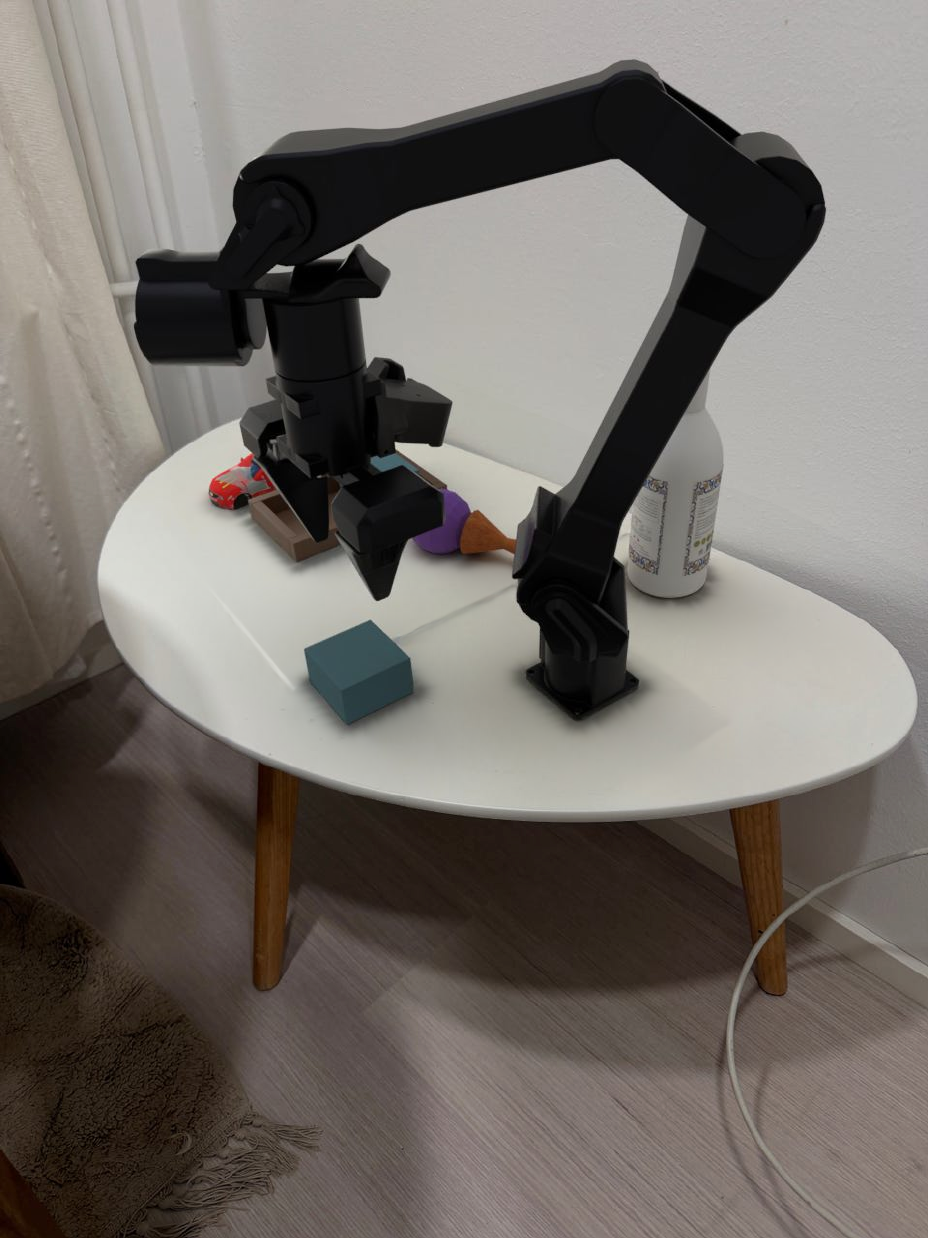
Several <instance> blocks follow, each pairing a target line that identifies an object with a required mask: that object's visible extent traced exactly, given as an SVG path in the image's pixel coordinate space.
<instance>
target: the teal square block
mask: <svg viewBox="0 0 928 1238" xmlns="http://www.w3.org/2000/svg"><path fill="white" fill-rule="evenodd" d="M371 464H373V465H374V466H375V467H377V468H378V469H379V470H380V471H382V472H384V471H387V470H389V469H392V468H395V467H398V466H401V465H404V466H405V467H407V468H409V469H410V470H412V471H413V472H415V473H416V474H418V475H419V470H418V469H417V468H415V467H414V466H413V465H411V464H410V463H408V462H407V461H406V460H404V459H403V458H401V457H400V456H399V455H397V454H396V453H395V454H392V455H389V456H386V457H383V458H379V457H378V456H375V457H372V458H371ZM339 484H340V483H339ZM341 487H342V485H341V484H340V488H341Z"/></svg>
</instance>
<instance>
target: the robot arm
mask: <svg viewBox="0 0 928 1238" xmlns="http://www.w3.org/2000/svg"><path fill="white" fill-rule="evenodd" d="M610 160H618V161H621V162H622V163H624V164H625V165H626V166H628V167H629V168H631V169H632V170H633V171H635V172H636V173H638V175H640V176H641V177H642V178H644V179H645V180H646V181H647V182H648V183H650V185H652V186H653V187H654V188H655V189H656V190H658V192H659V193H661V194H663V196H665V197H666V198H667V199H668V200H670V202H672V203H673V204H674V205H676V206H677V207H678V208H679V209H680V210H681V211H682V212H684V213H685V214H687V217H686V220H685V222H684V223H685V224H684V225H683V231H682V234H681V239H680V243H679V248H678V252H677V257H676V260H675V265H674V269H673V273H672V278H671V281H670V285H669V287H668V291H667V293H666V296H665V298H664V299H663V301H662V303H661V306H660V308H659V309H658V311H657V313H656V315H655V317H654V319H653V321H652V323H651V324H650V327H649V328H648V331H647V333H646V335H645V337H644V338H643V341H642V342H641V345H640V346H639V349H638V350H637V352H636V355H635V356H634V358H633V360H632V362H631V364H630V366H629V368H628V370H627V372H626V374H625V376H624V378H623V380H622V382H621V384H620V386H619V388H618V390H617V391H616V393H615V396H614V397H613V399H612V402H611V403H610V405H609V407H608V409H607V411H606V413H605V415H604V418H603V419H602V421H601V423H600V425H599V427H598V429H597V431H596V433H595V434H594V437H593V438H592V441H591V443H590V445H589V447H588V448H587V450H586V453H585V454H584V456H583V458H582V460H581V462H580V464H579V466H578V468H577V470H576V472H575V474H574V476H573V477H572V479H571V480H570V481H569V482H568V483H567V484H566V485H564V486H563V487H562V488H561V489H560V490H558V491H557V492H556V493H554V492H552V491H550V490H548V489H547V488H545V487H543V486H541V485H538V486H537V488H536V491H535V495H534V499H533V501H532V506H531V509H530V511H529V512H528V514H527V515H526V517H525V518H523V519H522V520H521V521H520V522H519V523H518V524H517V529H516V538H515V539H516V545H515V554H513V564H512V573H511V574H512V575H511V578H512V579H513V580H517V584H516V592H515V599H516V603H517V604H518V606H519V608H520V609H521V611H522V613H523V614H524V615H525V616H526V617H527V618H528V619H530V621H533V622H535V623H537V625H538V627H539V641H538V642H539V645H538V647H539V649H538V650H539V651H538V658H539V660H540V662H539V663H536V664H534V665H533V666H531V667H529V668H527V669H526V670H525V673H524V674H525V676H524V677H525V678H526V680H528V681H529V682H530V683H532V685H534V686H535V688H537V689H538V690H539V691H541V692H542V693H543V694H544V695H545V696H546V697H548V698H549V700H551V701H552V702H553V703H554V704H555V705H556V706H558V707H559V708H560V709H561V710H562V711H564V712H565V713H566V714H567V715H568V716H569V717H571V719H573V720H576V721H580V720H583V719H585V718H587V717H589V716H591V715H592V714H594V713H595V712H597V711H600V710H601V709H603V708H605V707H606V706H608V705H610V704H612V703H614V702H615V701H616V700H617V701H618V700H619V699H620V698H623V697H624V696H625V695H628V694H629V693H631V692H633V691H635V690H636V689H638V688H639V686H640V680H639V678H638V677H636V676H635V675H634V674H632V673H631V672H630V671H628V670H627V662H628V653H629V652H628V651H629V642H630V641H629V640H630V630H629V623H628V607H627V606H628V605H627V604H628V602H627V601H628V600H627V583H626V568H625V565H624V564H623V563H622V562H621V561H619V560H618V559H617V558H616V557H615V553H616V549H617V546H618V545H617V544H618V540H619V536H620V532H621V528H622V525H623V522H624V521H625V518H626V517H627V515H628V513H629V511H630V510H631V509H632V506H633V503H634V501H635V499H636V497H637V496H638V494H639V492H640V490H641V489H642V487H643V485H644V483H645V482H646V480H647V478H648V476H649V475H650V473H651V471H652V469H653V468H654V466H655V464H656V462H657V461H658V459H659V457H660V455H661V454H662V452H663V450H664V448H665V447H666V445H667V443H668V441H669V439H670V438H671V436H672V434H673V432H674V431H675V429H676V427H677V425H678V424H679V422H680V420H681V418H682V417H683V415H684V413H685V411H686V410H687V408H688V406H689V404H690V403H691V401H692V399H693V397H694V396H695V394H696V392H697V390H698V389H699V387H700V385H701V383H702V382H703V380H704V378H705V376H706V375H707V373H708V371H709V369H710V370H711V368H712V366H713V364H714V362H715V361H716V359H717V357H718V356H719V354H720V353H721V350H722V348H723V347H724V345H725V343H726V341H727V340H728V338H729V336H730V335H731V334H732V333H733V331H734V330H735V329H736V328H737V327H738V326H739V325H740V324H742V323H743V322H744V321H745V320H746V319H748V318H749V317H751V315H752V314H754V312H756V311H757V310H758V309H759V308H761V307H762V306H763V305H765V303H767V302H768V301H769V300H770V299H772V297H774V295H775V294H776V293H777V291H778V290H779V289H780V288H781V287H782V286H783V284H784V283H785V281H787V279H788V278H789V277H790V275H791V274H792V273H793V272H794V271H795V269H796V268H797V267H798V266H799V265H800V264H801V262H802V261H803V259H804V258H805V257H806V256H807V255H808V253H809V252H810V251H811V250H812V249H813V247H814V245H815V244H816V242H817V241H818V239H819V236H820V234H821V231H822V230H823V227H824V225H825V221H826V214H827V207H826V200H825V195H824V191H823V187H822V184H821V182H820V181H819V179H818V178H817V176H816V174H815V173H814V171H813V170H812V169H811V167H810V166H809V165H808V164H807V162H806V161H805V160H804V158H803V157H802V156H801V155H800V154H799V152H798V151H797V150H796V148H795V147H794V146H793V144H792V143H790V142H789V141H787V140H786V139H784V138H783V137H782V136H780V135H779V134H775V133H770V132H766V131H755V132H746V133H740V132H739V131H738V130H737V129H735V128H734V127H733V126H732V125H730V124H729V123H727V122H726V121H725V120H723V119H722V118H720V117H719V116H718V115H716V114H715V113H713V112H712V111H710V110H709V109H707V108H706V107H704V106H702V105H701V104H700V103H698V102H696V101H695V100H693V99H692V98H691V97H689V96H688V95H686V94H684V93H682V92H681V91H679V90H678V89H676V88H675V87H673V86H672V85H671V84H669V83H668V82H666V81H665V80H663V79H662V78H661V76H660V75H659V72H658V71H656V69H654V68H653V67H652V66H651V65H650V64H649V63H648V62H645V61H641V60H638V59H634V58H632V59H621V60H618V61H616V62H613V63H612V64H609V66H607V67H606V68H604V69H601V70H600V71H598V72H595V73H592V74H588V75H584V76H581V77H576V78H573V79H569V80H566V81H563V82H558V83H555V84H552V85H548V86H545V87H540V88H537V89H534V90H530V91H527V92H523V93H520V94H517V95H513V96H509V97H505V98H502V99H498V100H495V101H491V102H488V103H484V104H480V105H477V106H474V107H469V108H466V109H463V110H459V111H456V112H452V113H448V114H445V115H441V116H437V117H434V118H431V119H426V120H424V121H423V120H422V121H420V122H416V123H413V124H409V125H405V126H401V127H392V128H391V127H389V128H364V127H339V128H337V127H336V128H326V129H325V128H324V129H313V130H310V129H309V130H299V131H292V132H289V133H287V134H286V135H284V136H281V137H279V138H277V139H275V141H274V142H272V143H271V144H270V145H269V146H267V147H266V148H264V149H263V150H262V151H261V152H260V153H259V154H258V155H256V156H255V157H254V158H252V159H251V160H250V161H248V162H247V164H245V165H244V167H243V168H241V169H240V171H239V173H238V175H237V179H236V181H235V183H234V186H233V190H232V210H233V214H234V219H235V224H234V226H233V228H232V230H231V232H230V234H229V236H228V237H227V240H226V241H225V244H224V246H223V247H222V248H221V249H220V250H219V251H178V250H173V249H170V248H148V249H147V250H146V251H145V252H143V253H142V254H141V255H139V257H137V258H136V259H135V260H134V261H135V262H134V263H135V267H136V271H137V274H138V282H137V286H136V290H135V299H134V314H135V321H134V323H133V330H134V335H135V338H136V342H137V344H138V347H139V350H140V351H141V353H142V355H143V357H144V359H146V361H147V362H148V363H149V364H151V365H152V366H155V367H245V366H247V365H248V364H249V363H250V361H251V359H252V356H253V353H254V350H262V348H263V347H264V345H265V342H266V339H267V334H268V339H269V340H268V341H269V345H270V350H271V351H270V352H271V356H272V362H273V368H274V374H275V375H272V376H269V377H266V378H265V383H266V389H267V394H268V395H270V396H271V397H272V398H273V399H272V400H269V401H264V402H262V403H258V404H254V405H252V406H248V407H247V409H246V410H245V412H244V413H243V415H242V417H241V418H240V420H239V422H238V425H239V429H240V434H241V439H242V443H243V446H244V447H245V448H246V449H247V450H248V451H249V452H251V454H252V453H253V454H254V455H253V458H254V460H255V461H256V463H257V464H258V465H259V466H260V467H261V469H262V470H263V471H264V473H265V474H266V475H267V477H268V478H269V479H270V481H271V482H272V484H273V485H274V486H275V488H276V489H277V490H278V492H279V493H280V494H281V496H282V497H283V499H284V500H285V501H286V503H287V504H288V505H289V507H290V508H291V509H292V511H293V512H294V514H295V515H296V516H297V518H298V519H299V521H300V522H301V523H302V525H303V526H304V528H305V529H306V530H307V532H308V533H309V535H310V536H311V537H312V539H313V540H314V541H315V542H316V543H320V542H322V541H325V540H327V539H328V537H329V498H328V476H332V477H333V478H334V479H335V480H336V481H337V482H339V483H340V484H341V485H342V487H341V488H340V490H339V492H338V493H337V495H336V496H335V498H334V499H333V501H332V503H331V509H332V516H333V520H334V522H335V524H336V526H337V528H338V531H336V532H335V535H336V537H337V539H338V540H339V542H340V544H341V545H340V546H341V547H342V549H343V551H344V553H346V555H347V557H348V559H349V561H350V563H351V564H352V565H353V567H354V569H355V570H356V572H357V574H358V576H359V578H360V579H361V581H362V583H363V584H364V586H365V588H366V589H367V591H368V592H369V594H370V596H371V597H372V598H373V600H374V601H375V602H380V601H382V600H385V599H387V598H388V597H390V595H391V593H392V589H393V585H394V582H395V579H396V576H397V572H398V569H399V566H400V563H401V559H402V555H403V553H404V550H405V548H406V546H407V543H408V541H409V540H411V539H412V538H413V537H416V536H418V535H421V534H423V533H426V532H428V531H431V530H433V529H436V528H438V527H441V526H443V525H444V522H445V519H446V517H445V502H444V494H443V493H442V492H441V491H439V490H438V489H437V488H435V487H434V486H433V485H431V484H430V483H429V482H427V481H426V480H425V479H423V478H422V477H421V476H419V475H418V474H416V473H415V472H413V471H412V470H410V469H409V468H407V467H405V466H404V465H401V466H398V467H395V468H392V469H389V470H387V471H384V472H382V471H380V470H379V469H378V468H377V467H375V466H374V465H373V464H371V458H372V457H375V456H378V457H379V458H383V457H386V456H389V455H392V454H395V453H396V450H397V449H396V443H397V444H416V445H417V444H418V445H428V446H429V447H431V448H440V447H442V446H443V444H444V441H445V436H446V433H447V432H446V431H447V428H448V424H449V419H450V416H451V412H452V407H453V403H454V402H453V400H451V399H450V398H448V397H447V396H445V395H444V394H442V393H441V392H438V391H437V390H436V389H433V388H432V387H430V386H428V385H427V384H425V383H422V382H418V381H417V380H416V379H414V378H412V377H406V373H405V372H406V371H405V368H404V366H403V364H400V363H399V362H397V361H395V360H393V359H392V358H389V357H379V356H373V358H372V360H371V362H370V363H369V365H368V363H367V355H366V347H365V338H364V331H363V322H362V313H361V312H362V311H361V303H360V299H378V298H380V297H381V295H382V294H383V292H384V290H385V287H386V286H387V284H388V282H389V280H390V278H391V275H392V274H391V270H390V268H388V266H386V265H384V264H383V263H382V262H381V261H379V260H378V259H376V258H375V257H373V256H372V255H371V254H370V253H369V252H368V251H367V249H366V248H365V246H364V245H363V244H361V243H356V244H355V245H354V246H353V248H352V249H351V251H350V252H349V254H348V255H347V256H346V257H344V258H323V257H325V256H327V255H329V254H331V253H334V252H336V251H337V250H340V249H342V248H344V247H346V246H348V245H350V244H353V243H355V242H356V241H358V240H360V239H361V238H363V237H364V236H366V235H368V234H370V233H372V232H373V231H375V230H377V229H378V228H381V226H383V225H386V223H389V222H390V221H392V220H394V219H397V218H398V217H401V216H402V215H405V214H407V213H409V212H412V211H416V210H420V209H423V208H428V207H431V206H434V205H439V204H442V203H447V202H451V201H454V200H459V199H462V198H465V197H470V196H474V195H478V194H482V193H486V192H490V191H493V190H497V189H501V188H504V187H509V186H513V185H517V184H521V183H525V182H529V181H533V180H536V179H540V178H545V177H549V176H552V175H556V174H559V173H563V172H568V171H571V170H575V169H579V168H584V167H588V166H591V165H595V164H599V163H602V162H603V163H604V162H606V161H610ZM276 266H281V267H293V269H292V271H283V272H270V271H272V269H274V268H275V267H276Z"/></svg>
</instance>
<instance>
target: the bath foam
mask: <svg viewBox="0 0 928 1238" xmlns="http://www.w3.org/2000/svg"><path fill="white" fill-rule="evenodd" d="M710 375H711V368H710V369H709V371H708V373H707V375H706V376H705V378H704V380H703V382H702V383H701V385H700V387H699V389H698V390H697V392H696V394H695V396H694V397H693V399H692V401H691V403H690V404H689V406H688V408H687V410H686V411H685V413H684V415H683V417H682V418H681V420H680V422H679V424H678V425H677V427H676V429H675V431H674V432H673V434H672V436H671V438H670V439H669V441H668V443H667V445H666V447H665V448H664V450H663V452H662V454H661V455H660V457H659V459H658V461H657V462H656V464H655V466H654V468H653V469H652V471H651V473H650V475H649V476H648V478H647V480H646V482H645V483H644V485H643V487H642V489H641V490H640V492H639V494H638V496H637V497H636V499H635V501H634V503H633V504H632V506H631V517H630V518H631V519H630V531H629V540H628V541H629V542H628V543H629V544H628V557H627V569H626V570H627V576H628V579H629V581H630V582H631V583H632V584H633V586H634V587H636V588H637V589H638V590H639V591H642V592H643V593H645V594H647V595H650V596H654V597H659V598H665V599H666V598H667V599H672V598H673V599H674V598H675V599H676V598H682V597H686V596H689V595H692V594H694V593H696V592H697V591H699V590H700V589H702V587H703V585H704V584H705V582H706V580H707V576H708V570H709V563H710V557H711V551H712V545H713V538H714V531H715V525H716V524H715V523H716V518H717V511H718V505H719V498H720V492H721V486H722V477H723V471H724V460H725V459H724V456H725V455H724V446H723V442H722V437H721V434H720V431H719V430H718V428H717V426H716V424H715V422H714V420H713V419H712V417H711V415H710V413H709V411H708V410H707V408H706V403H707V397H708V388H709V382H710Z"/></svg>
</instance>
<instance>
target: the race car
mask: <svg viewBox="0 0 928 1238" xmlns="http://www.w3.org/2000/svg"><path fill="white" fill-rule="evenodd" d="M253 455H254V454H253V453H252V452H251V453H250V454H249V455H247V456H245V457H240V462H238V464H236V465H233V466H231V467H230V468H228V469H226V470H224V471H223V472H220V473H219V474H217V475H216V476H214V477H213V478H212V479H211V481H210V483H209V486H208V497H209V500H210V502H211V503H212V504H213V505H215V506H216V507H218V508H221V509H225V510H226V509H227V510H234V509H236V510H239V509H240V508H241V509H242V508H243V507H246V506H249V503H248V500H249V499H252V498H255V497H257V496H260V495H263V494H266V493H269V492H272V491H275V490H277V489H276V488H275V486H274V485H273V484H272V482H271V481H270V479H269V478H268V477H267V475H266V474H265V473H264V471H263V470H262V469H261V467H260V466H259V465H258V464H257V463H256V461H255V460H254V458H253Z"/></svg>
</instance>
